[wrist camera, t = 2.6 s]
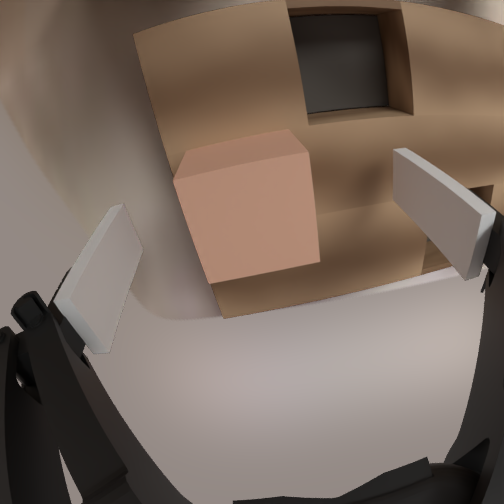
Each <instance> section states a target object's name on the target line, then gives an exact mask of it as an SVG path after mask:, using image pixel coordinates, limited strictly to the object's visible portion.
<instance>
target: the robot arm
mask: <svg viewBox="0 0 504 504" xmlns="http://www.w3.org/2000/svg"><path fill="white" fill-rule="evenodd" d="M393 200H394V201H395V202H396V203H397V204H398V205H399V206H400V208H401V209H402V210H403V211H404V212H405V213H406V214H407V215H408V216H409V217H410V218H411V219H412V220H413V221H414V222H415V223H416V224H417V225H418V226H419V227H420V229H421V230H422V231H423V232H424V233H425V234H426V235H427V236H428V237H429V239H430V240H431V241H432V242H433V243H434V244H435V245H436V246H437V248H438V249H439V250H440V251H441V252H442V253H443V255H444V256H445V257H446V258H447V259H448V261H449V262H450V263H451V264H452V265H453V267H454V268H455V269H456V270H457V271H458V273H459V274H460V275H461V276H462V278H463V279H464V280H465V281H466V280H469V279H472V278H475V277H478V276H479V275H480V272H481V268H482V265H483V263H484V264H485V265H486V266H487V267H488V268H489V269H488V272H487V275H486V278H485V281H484V284H483V287H482V289H481V292H482V293H483V291H484V289H485V302H484V315H483V323H482V331H481V339H480V346H479V352H478V358H477V363H476V369H475V374H474V379H473V383H472V388H471V392H470V396H469V400H468V404H467V408H466V411H465V415H464V418H463V422H462V425H461V428H460V431H459V434H458V437H457V439H456V440H455V442H454V444H453V445H452V447H451V449H450V450H449V452H448V454H447V456H446V458H445V461H444V463H430V464H429V461H428V458H427V457H425V458H423V459H420V460H418V461H415V462H413V463H410V464H408V465H405V466H402V467H399V468H397V469H394V470H391V471H388V472H385V473H383V474H381V475H380V476H378V477H376V478H374V479H372V480H371V481H369V482H367V483H365V484H363V485H362V486H360V487H358V488H356V489H354V490H352V491H350V492H348V493H346V494H344V495H342V496H340V497H337V498H300V497H285V496H280V497H272V498H263V499H252V500H237V501H233V504H504V216H503V215H502V214H501V213H500V212H498V211H497V210H496V209H495V208H494V207H492V206H491V205H490V204H489V203H487V202H485V200H484V199H482V198H481V197H479V196H478V195H477V194H476V193H475V192H473V191H472V190H470V189H468V188H466V187H464V186H463V185H461V184H460V183H458V182H457V181H456V180H454V179H453V178H451V177H450V176H449V175H447V174H446V173H444V172H443V171H441V170H440V169H438V168H437V167H435V166H434V165H432V164H431V163H429V162H428V161H426V160H425V159H423V158H422V157H420V156H418V155H417V154H415V153H414V152H412V151H410V150H409V149H407V148H399V149H393ZM143 250H144V249H143V247H142V245H141V242H140V240H139V238H138V236H137V233H136V231H135V229H134V226H133V224H132V222H131V219H130V217H129V214H128V212H127V210H126V207H125V205H124V203H122V204H119V205H116V206H112V207H110V209H109V210H108V211H107V213H106V214H105V216H104V217H103V219H102V220H101V222H100V223H99V225H98V226H97V228H96V229H95V231H94V232H93V234H92V236H91V237H90V239H89V240H88V242H87V243H86V245H85V247H84V248H83V250H82V252H81V253H80V255H79V256H78V258H77V260H76V261H75V263H74V265H73V266H72V267H71V268H70V269H69V270H68V271H67V272H66V274H65V276H64V278H63V279H62V282H61V283H60V285H59V287H58V289H57V290H56V292H55V294H54V296H53V297H52V300H51V301H50V303H49V305H48V307H47V306H46V304H45V303H44V301H43V300H42V299H41V297H40V296H39V294H38V293H37V292H36V291H31V292H28V293H26V294H24V295H23V296H22V297H21V298H19V299H18V300H17V302H16V303H15V304H14V306H13V308H12V310H11V315H12V316H13V318H14V319H15V320H16V321H17V323H18V324H19V325H20V327H21V328H22V329H23V330H24V331H23V332H20V333H18V334H16V335H15V333H14V332H13V331H12V330H11V329H10V327H8V326H5V327H3V328H1V329H0V504H71V500H70V497H69V493H68V489H67V485H66V482H65V477H64V473H63V469H62V464H61V459H60V455H59V450H60V452H61V455H62V457H63V459H64V461H65V464H66V466H67V468H68V470H69V472H70V474H71V476H72V478H73V480H74V482H75V484H76V486H77V488H78V490H79V492H80V494H81V496H82V499H83V503H81V504H192V503H191V502H190V501H189V500H187V499H186V498H185V497H183V496H182V495H181V494H180V493H179V492H178V491H177V489H176V488H175V487H174V486H173V485H172V484H171V483H170V481H169V480H168V479H167V478H166V476H165V475H163V473H162V472H161V470H160V469H159V468H158V467H157V465H156V464H155V463H154V461H153V460H152V459H151V458H150V456H149V455H148V454H147V452H146V451H145V449H144V448H143V447H142V446H141V444H140V443H139V441H138V440H137V438H136V437H135V436H134V434H133V433H132V431H131V430H130V429H129V427H128V425H127V424H126V422H125V421H124V419H123V418H122V416H121V415H120V413H119V412H118V410H117V408H116V407H115V405H114V404H113V402H112V400H111V399H110V397H109V396H108V394H107V392H106V390H105V389H104V387H103V385H102V384H101V382H100V380H99V378H98V376H97V375H96V373H95V371H94V369H93V367H92V365H91V363H90V362H89V360H88V358H87V357H86V356H85V354H84V353H83V350H84V347H85V344H86V345H87V347H88V348H89V349H90V350H91V351H92V353H93V354H103V353H110V351H111V347H112V344H113V340H114V337H115V333H116V330H117V327H118V323H119V320H120V317H121V314H122V311H123V307H124V304H125V301H126V298H127V295H128V292H129V289H130V286H131V283H132V280H133V278H134V275H135V272H136V269H137V266H138V264H139V261H140V258H141V255H142V253H143ZM16 378H17V379H18V380H19V381H20V382H21V383H22V384H21V385H22V386H20V385H19V384H18V382H17V379H16Z"/></svg>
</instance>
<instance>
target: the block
mask: <svg viewBox="0 0 504 504" xmlns="http://www.w3.org/2000/svg"><path fill="white" fill-rule="evenodd" d="M173 183H174V187H175V190H176V193H177V196H178V199H179V202H180V205H181V208H182V210H183V213H184V216H185V219H186V222H187V225H188V228H189V231H190V234H191V236H192V239H193V242H194V245H195V248H196V251H197V253H198V256H199V259H200V262H201V264H202V267H203V270H204V272H205V275H206V278H207V281H208V283H209V284H212V283H217V282H222V281H227V280H232V279H238V278H243V277H248V276H253V275H258V274H263V273H268V272H273V271H278V270H283V269H288V268H293V267H297V266H302V265H307V264H312V263H317V262H320V254H319V241H318V230H317V219H316V209H315V200H314V191H313V182H312V174H311V166H310V158H309V152H308V150H307V149H306V148H305V147H304V146H303V145H302V143H301V142H300V141H299V140H298V139H297V138H296V137H295V136H294V135H293V133H292V132H291V131H290V130H289V129H286V130H280V131H274V132H269V133H263V134H258V135H253V136H248V137H243V138H239V139H234V140H229V141H225V142H221V143H216V144H212V145H208V146H204V147H200V148H196V149H192V150H188V151H186V152H185V155H184V157H183V159H182V161H181V163H180V165H179V168H178V170H177V172H176V174H175V177H174V179H173Z"/></svg>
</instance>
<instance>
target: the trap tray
mask: <svg viewBox="0 0 504 504" xmlns="http://www.w3.org/2000/svg"><path fill="white" fill-rule="evenodd" d="M321 14H368V15H377V16H367V15H324V16H305V17H292V18H289V17H291V16H303V15H321ZM133 37H134V41H135V45H136V49H137V53H138V57H139V61H140V65H141V69H142V72H143V76H144V80H145V83H146V87H147V91H148V94H149V98H150V101H151V105H152V108H153V112H154V115H155V119H156V122H157V126H158V129H159V132H160V136H161V139H162V142H163V146H164V149H165V152H166V155H167V158H168V162H169V165H170V168H171V171H172V174H173V177H175V174H176V172H177V170H178V168H179V165H180V163H181V161H182V159H183V157H184V155H185V152H186V151H188V150H192V149H196V148H200V147H204V146H208V145H212V144H216V143H221V142H225V141H229V140H234V139H239V138H243V137H248V136H253V135H258V134H263V133H269V132H274V131H280V130H286V129H289V130H290V131H291V132H292V133H293V135H294V136H295V137H296V138H297V139H298V140H299V141H300V142H301V143H302V145H303V146H304V147H305V148H306V149H307V150H308V152H309V158H310V166H311V174H312V182H313V191H314V200H315V209H316V219H317V230H318V241H319V254H320V262H317V263H312V264H307V265H302V266H297V267H293V268H288V269H283V270H278V271H273V272H268V273H263V274H258V275H253V276H248V277H243V278H238V279H232V280H227V281H222V282H217V283H212V284H211V287H212V290H213V292H214V295H215V297H216V300H217V303H218V305H219V308H220V311H221V313H222V316H223V318H224V319H226V318H231V317H237V316H243V315H248V314H253V313H259V312H264V311H269V310H274V309H279V308H284V307H289V306H294V305H299V304H304V303H308V302H313V301H318V300H322V299H327V298H331V297H335V296H340V295H344V294H348V293H353V292H357V291H361V290H365V289H369V288H373V287H377V286H381V285H385V284H389V283H393V282H397V281H400V280H404V279H408V278H412V277H415V276H419V275H422V274H426V273H430V272H433V271H437V270H440V269H444V268H447V267H450V266H453V265H452V264H451V263H450V262H449V261H448V259H447V258H446V257H445V256H444V255H443V253H442V252H441V251H440V250H439V249H438V248H437V246H436V245H435V244H434V243H433V242H432V241H431V240H430V239H429V237H428V236H427V235H426V234H425V233H424V232H423V231H422V230H421V229H420V227H419V226H418V225H417V224H416V223H415V222H414V221H413V220H412V219H411V218H410V217H409V216H408V215H407V214H406V213H405V212H404V211H403V210H402V209H401V208H400V206H399V205H398V204H397V203H396V202H395V201H394V200H393V149H399V148H407V149H409V150H410V151H412V152H414V153H415V154H417V155H418V156H420V157H422V158H423V159H425V160H426V161H428V162H429V163H431V164H432V165H434V166H435V167H437V168H438V169H440V170H441V171H443V172H444V173H446V174H447V175H449V176H450V177H451V178H453V179H454V180H456V181H457V182H458V183H460V184H461V185H463V186H464V187H466V188H468V189H470V190H472V191H473V192H475V193H476V194H477V195H478V196H479V197H481V198H482V199H484V200H485V202H487V203H489V204H490V205H491V206H492V207H494V208H495V209H496V210H497V211H498V212H500V213H501V214H502V215H503V216H504V25H501V24H498V23H495V22H492V21H489V20H486V19H482V18H479V17H476V16H472V15H468V14H465V13H461V12H457V11H453V10H448V9H444V8H439V7H434V6H428V5H423V4H417V3H410V2H403V1H394V0H273V1H265V2H257V3H250V4H244V5H238V6H232V7H227V8H222V9H217V10H213V11H208V12H204V13H200V14H196V15H192V16H188V17H184V18H180V19H177V20H173V21H170V22H167V23H164V24H160V25H157V26H154V27H151V28H148V29H145V30H143V31H140V32H137V33H134V34H133ZM384 105H389V106H384ZM369 106H383V107H369ZM357 107H368V108H357ZM346 108H356V109H346ZM336 109H346V110H336ZM328 110H336V111H328ZM320 111H328V112H320ZM312 112H320V113H312ZM307 113H312V114H307Z"/></svg>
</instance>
